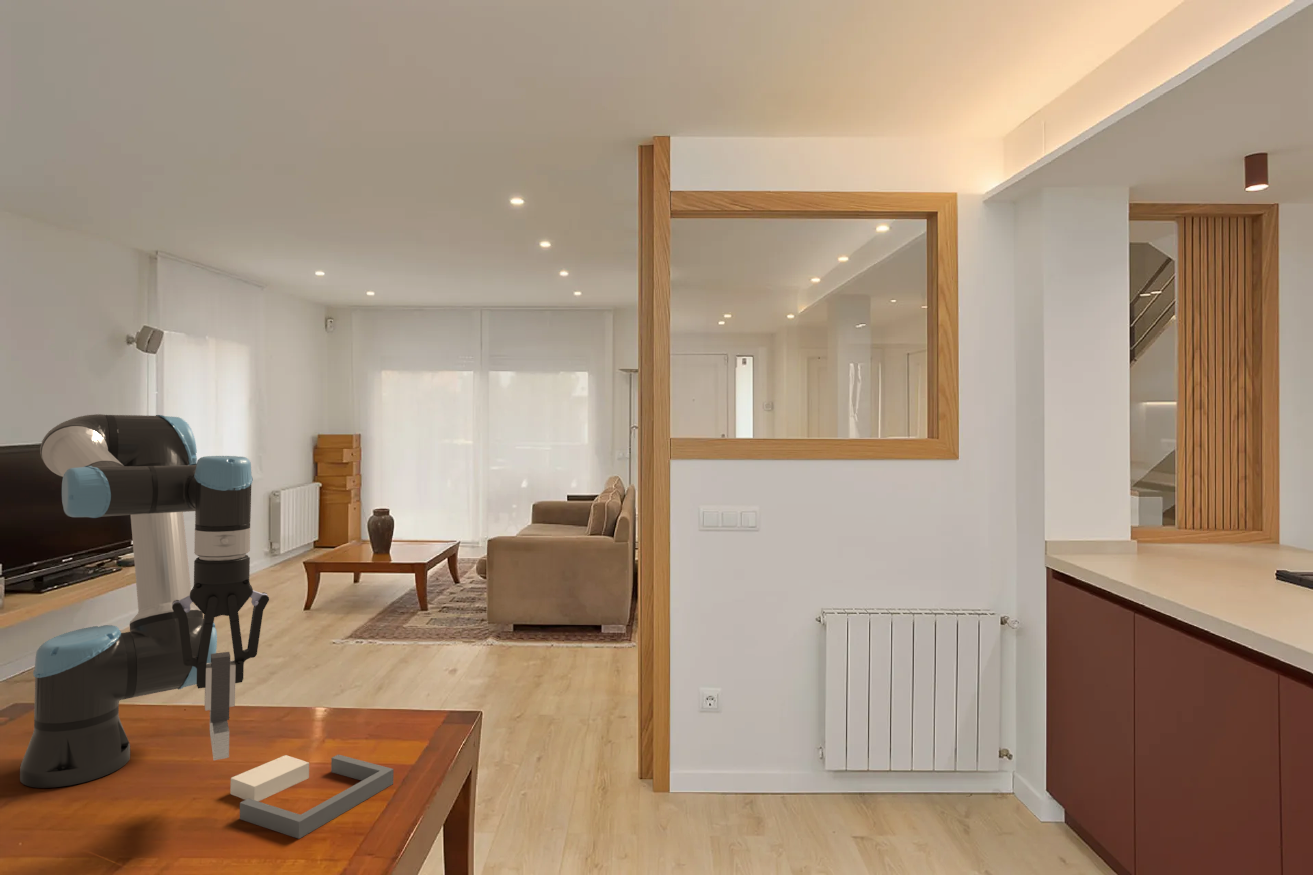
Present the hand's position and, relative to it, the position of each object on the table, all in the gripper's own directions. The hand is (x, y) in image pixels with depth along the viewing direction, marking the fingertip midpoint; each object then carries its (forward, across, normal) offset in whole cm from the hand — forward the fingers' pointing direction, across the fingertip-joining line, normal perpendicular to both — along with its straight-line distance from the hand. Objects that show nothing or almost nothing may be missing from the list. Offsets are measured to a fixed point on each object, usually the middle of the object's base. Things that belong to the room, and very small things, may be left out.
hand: (219, 704), depth 119 cm
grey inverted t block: (+6, 0, 0) cm, 6 cm away
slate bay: (+16, +14, -6) cm, 22 cm away
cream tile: (+17, +8, +4) cm, 19 cm away
